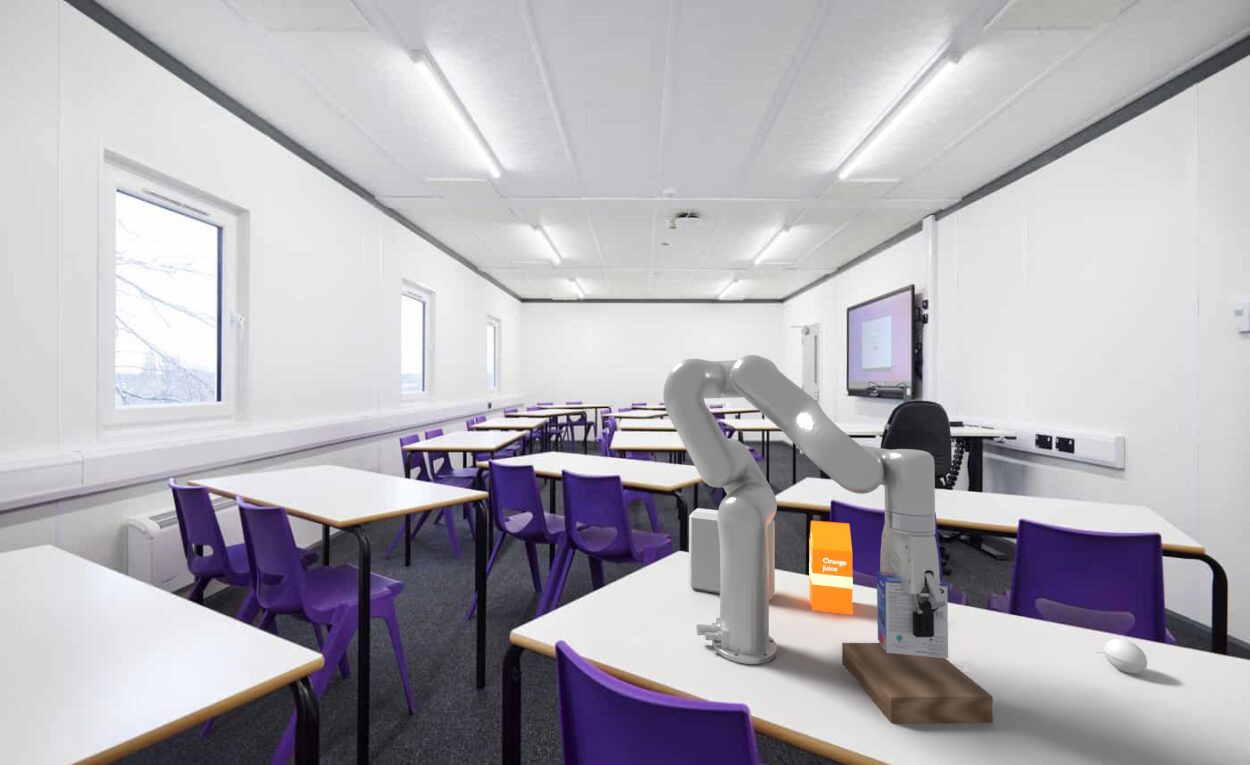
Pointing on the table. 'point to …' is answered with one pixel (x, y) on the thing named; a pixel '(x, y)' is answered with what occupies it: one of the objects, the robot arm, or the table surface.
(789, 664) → the table surface
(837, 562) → the orange juice
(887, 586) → the ink cartridge box
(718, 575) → the bevelled white case
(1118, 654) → the white egg-shaped piece
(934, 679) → the walnut plinth
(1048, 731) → the table surface
